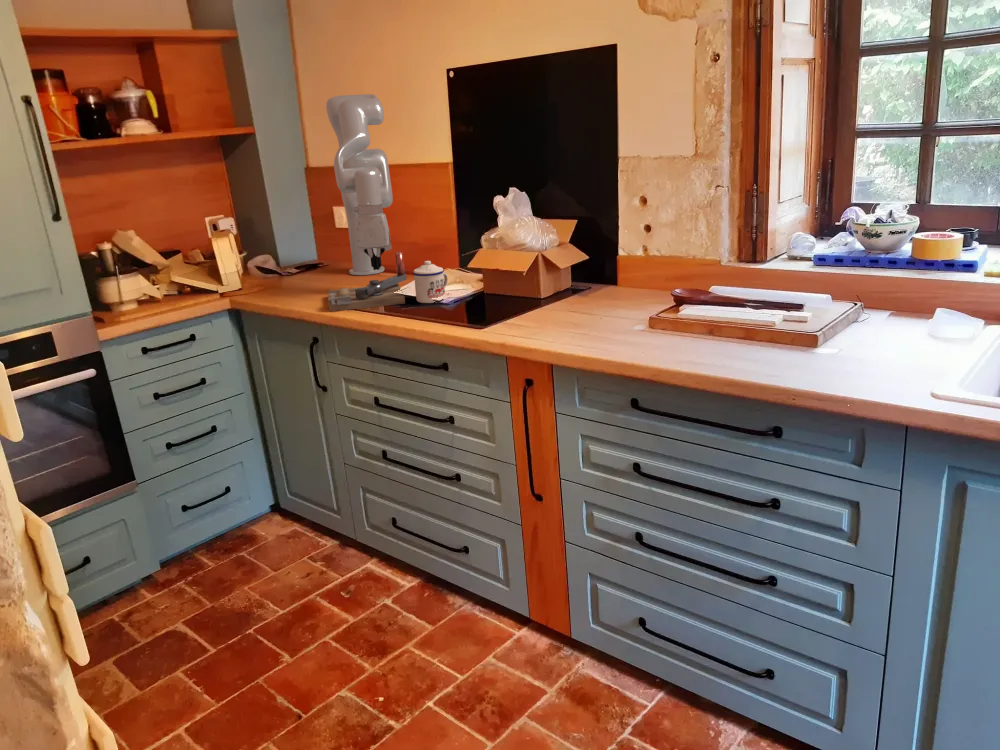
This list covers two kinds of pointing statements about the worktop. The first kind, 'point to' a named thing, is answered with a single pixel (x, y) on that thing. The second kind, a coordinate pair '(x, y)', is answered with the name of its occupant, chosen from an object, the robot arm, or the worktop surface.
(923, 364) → the worktop surface
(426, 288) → the teacup with lid
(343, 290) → the walnut
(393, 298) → the nutcracker base
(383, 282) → the lever
